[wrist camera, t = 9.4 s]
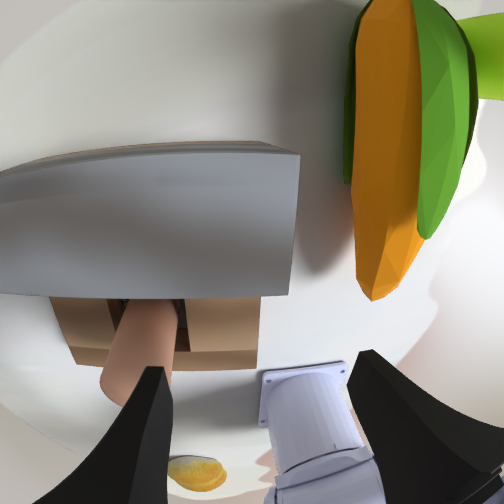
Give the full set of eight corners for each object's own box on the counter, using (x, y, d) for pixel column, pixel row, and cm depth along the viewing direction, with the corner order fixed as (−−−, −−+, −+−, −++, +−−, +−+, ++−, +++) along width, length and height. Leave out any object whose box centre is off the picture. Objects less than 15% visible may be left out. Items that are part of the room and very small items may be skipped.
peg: (179, 325, 20) (170, 415, 13) (132, 319, 20) (106, 405, 12) (181, 283, 19) (168, 374, 12) (129, 277, 18) (93, 362, 11)
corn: (495, 5, 6) (450, 331, 14) (426, 26, 13) (398, 273, 21) (383, -58, 5) (346, 345, 13) (334, -6, 12) (312, 273, 20)
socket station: (252, 345, 22) (268, 431, 15) (85, 343, 20) (55, 419, 13) (260, 141, 16) (300, 155, 8) (42, 158, 14) (-42, 188, 7)
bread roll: (215, 451, 30) (217, 477, 26) (229, 472, 34) (232, 493, 30) (156, 454, 29) (154, 478, 26) (178, 475, 33) (178, 496, 30)
